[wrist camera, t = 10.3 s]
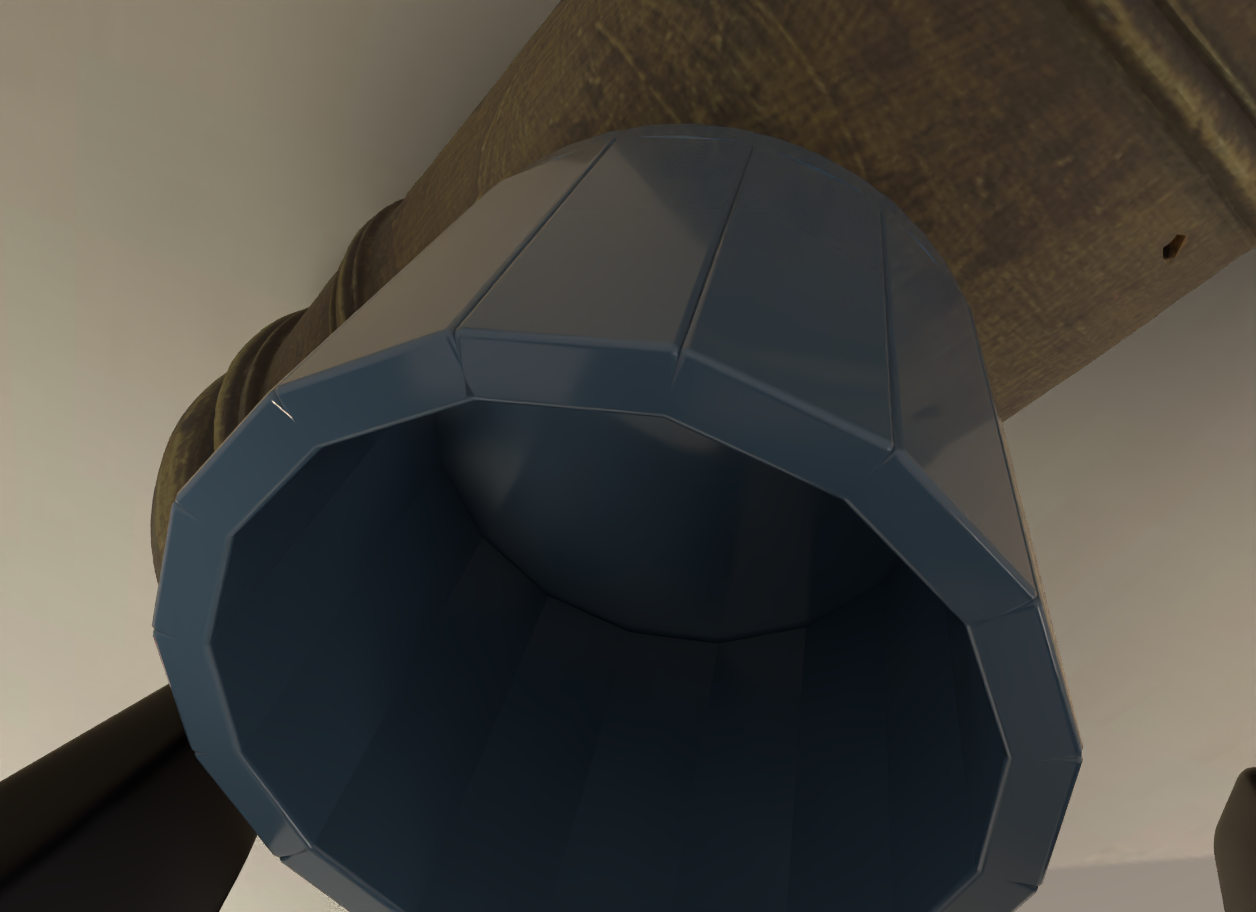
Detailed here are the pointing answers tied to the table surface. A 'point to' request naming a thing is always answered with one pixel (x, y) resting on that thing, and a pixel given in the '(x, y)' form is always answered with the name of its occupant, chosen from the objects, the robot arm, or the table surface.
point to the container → (874, 158)
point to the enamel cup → (634, 564)
